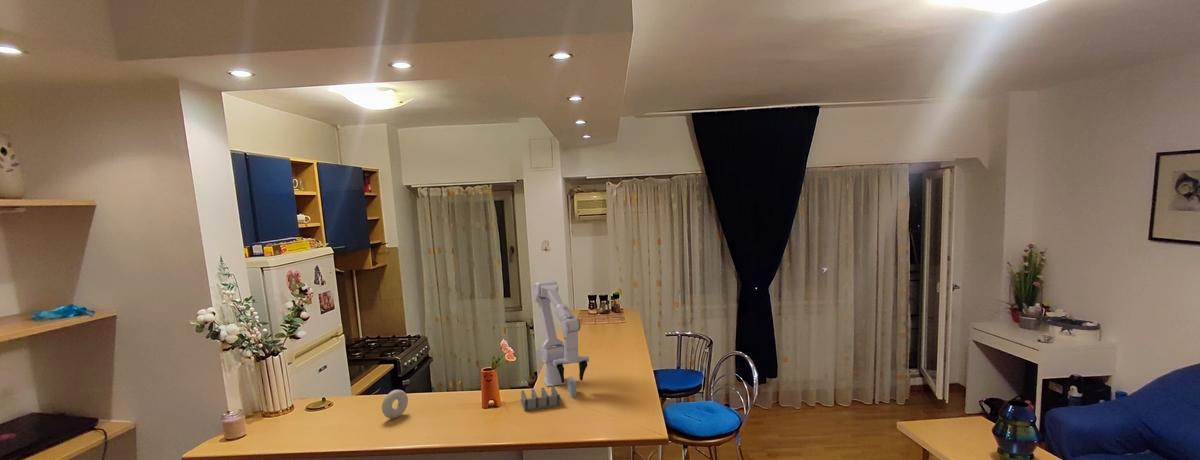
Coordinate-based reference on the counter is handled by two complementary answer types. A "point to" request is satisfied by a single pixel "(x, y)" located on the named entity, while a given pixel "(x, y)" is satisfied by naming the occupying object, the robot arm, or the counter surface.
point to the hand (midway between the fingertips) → (571, 381)
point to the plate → (572, 386)
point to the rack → (540, 400)
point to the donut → (388, 402)
